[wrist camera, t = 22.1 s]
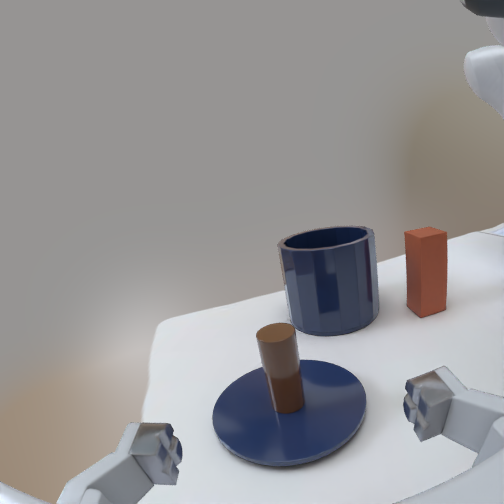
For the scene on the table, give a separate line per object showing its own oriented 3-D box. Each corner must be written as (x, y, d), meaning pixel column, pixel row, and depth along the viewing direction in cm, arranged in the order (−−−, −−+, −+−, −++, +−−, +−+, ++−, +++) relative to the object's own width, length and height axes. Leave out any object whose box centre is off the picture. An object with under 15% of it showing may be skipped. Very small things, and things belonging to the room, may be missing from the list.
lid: (387, 382, 23) (389, 301, 21) (315, 495, 14) (305, 417, 12) (273, 358, 32) (260, 290, 30) (186, 429, 22) (153, 353, 21)
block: (445, 309, 32) (446, 232, 30) (420, 318, 32) (420, 237, 30) (430, 298, 36) (429, 226, 33) (406, 305, 36) (404, 231, 34)
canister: (388, 297, 40) (384, 224, 37) (359, 342, 31) (353, 250, 29) (316, 292, 47) (307, 227, 45) (273, 327, 39) (258, 250, 36)
